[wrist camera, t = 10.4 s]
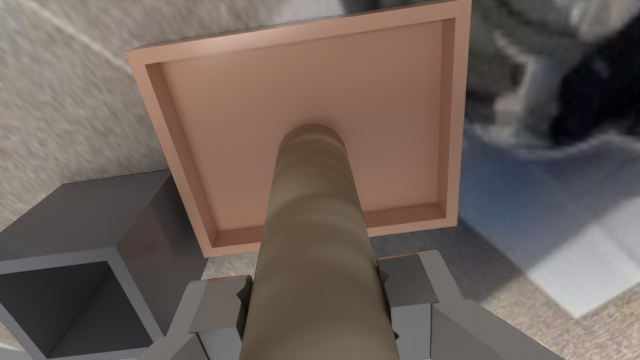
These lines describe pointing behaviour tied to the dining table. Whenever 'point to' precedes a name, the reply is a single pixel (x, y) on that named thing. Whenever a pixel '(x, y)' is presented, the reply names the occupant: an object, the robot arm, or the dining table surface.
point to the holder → (98, 268)
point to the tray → (314, 114)
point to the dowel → (316, 262)
